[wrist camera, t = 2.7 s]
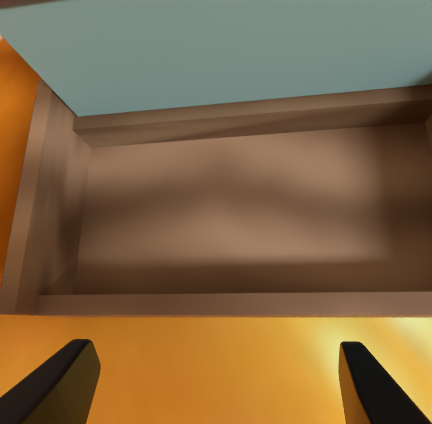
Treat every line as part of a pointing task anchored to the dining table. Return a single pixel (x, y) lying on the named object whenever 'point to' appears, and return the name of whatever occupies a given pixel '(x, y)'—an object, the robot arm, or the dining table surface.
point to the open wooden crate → (227, 209)
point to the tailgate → (217, 49)
